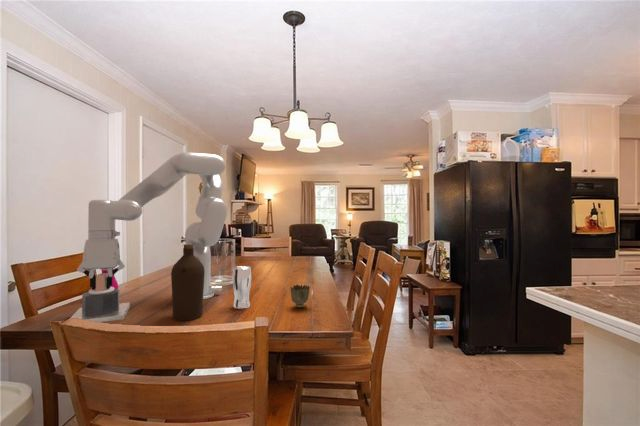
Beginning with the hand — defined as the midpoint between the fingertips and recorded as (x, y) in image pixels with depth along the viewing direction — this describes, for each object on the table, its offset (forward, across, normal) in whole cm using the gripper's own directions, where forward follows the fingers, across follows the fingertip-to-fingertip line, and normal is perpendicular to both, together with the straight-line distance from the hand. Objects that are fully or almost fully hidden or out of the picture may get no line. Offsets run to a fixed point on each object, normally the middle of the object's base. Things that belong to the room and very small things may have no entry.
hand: (101, 287), depth 103 cm
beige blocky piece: (+4, 0, 0) cm, 4 cm away
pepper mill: (+10, +2, -23) cm, 25 cm away
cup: (+10, -66, +20) cm, 70 cm away
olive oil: (+10, -27, +13) cm, 32 cm away
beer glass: (+10, -46, +10) cm, 48 cm away
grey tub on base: (+10, 0, 0) cm, 10 cm away
